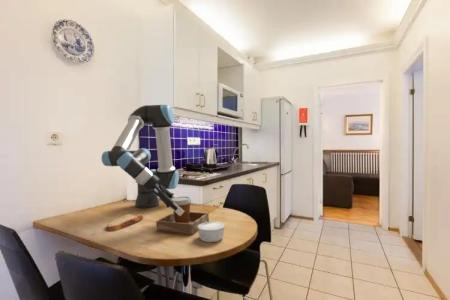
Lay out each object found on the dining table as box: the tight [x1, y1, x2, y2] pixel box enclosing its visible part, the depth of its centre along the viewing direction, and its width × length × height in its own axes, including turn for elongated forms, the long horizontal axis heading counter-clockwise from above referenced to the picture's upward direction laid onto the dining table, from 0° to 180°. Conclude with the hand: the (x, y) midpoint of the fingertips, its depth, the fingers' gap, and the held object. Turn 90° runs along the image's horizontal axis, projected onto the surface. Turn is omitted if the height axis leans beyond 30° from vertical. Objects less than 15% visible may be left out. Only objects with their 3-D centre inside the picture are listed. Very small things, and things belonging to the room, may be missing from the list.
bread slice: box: [106, 213, 144, 232], centre depth 120 cm, size 18×18×4 cm
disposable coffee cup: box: [172, 196, 192, 223], centre depth 115 cm, size 10×10×12 cm
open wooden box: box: [155, 211, 210, 236], centre depth 114 cm, size 18×18×4 cm
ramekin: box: [197, 221, 226, 243], centre depth 98 cm, size 11×11×5 cm
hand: (181, 209), depth 113 cm, fingers open, 13 cm apart
